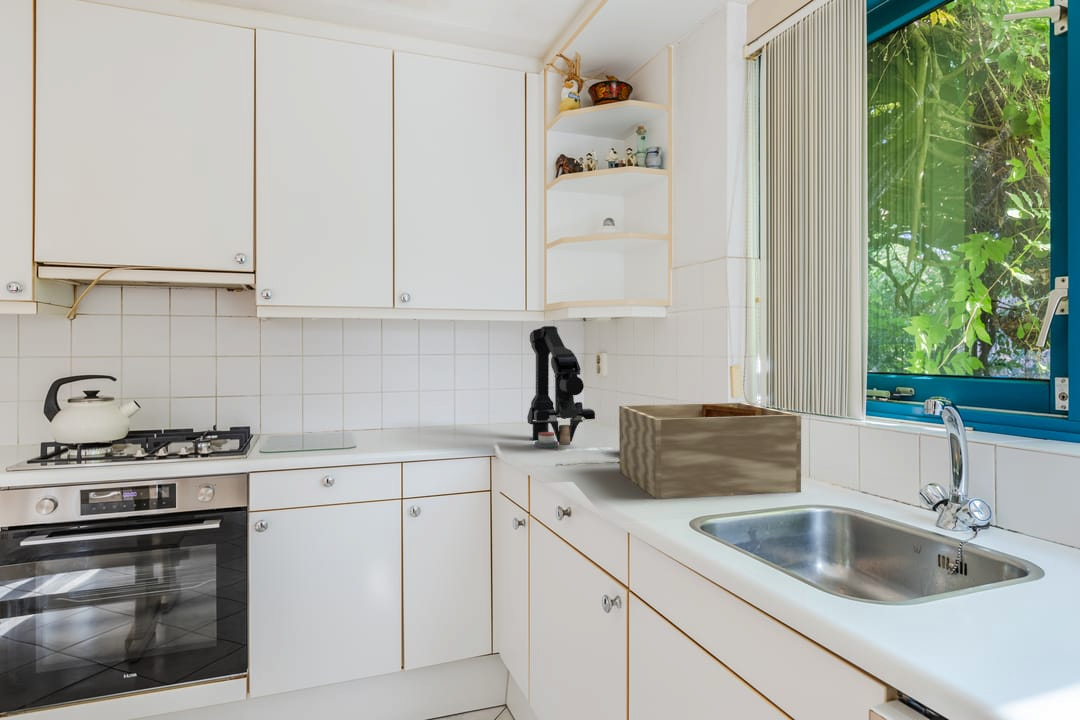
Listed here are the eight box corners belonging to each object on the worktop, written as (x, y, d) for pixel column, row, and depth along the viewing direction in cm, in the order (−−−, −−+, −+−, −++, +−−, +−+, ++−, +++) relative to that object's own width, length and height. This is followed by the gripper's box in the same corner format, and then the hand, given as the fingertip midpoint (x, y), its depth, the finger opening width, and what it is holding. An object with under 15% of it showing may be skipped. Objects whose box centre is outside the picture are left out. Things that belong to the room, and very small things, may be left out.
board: (532, 448, 203) (532, 440, 203) (602, 445, 207) (602, 438, 207) (539, 456, 189) (539, 448, 188) (614, 453, 192) (614, 445, 192)
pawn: (558, 443, 194) (557, 425, 194) (569, 443, 195) (568, 424, 194) (560, 445, 191) (559, 426, 190) (571, 445, 191) (571, 426, 191)
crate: (619, 471, 166) (619, 405, 166) (741, 466, 172) (741, 402, 171) (656, 499, 137) (655, 419, 137) (800, 491, 143) (801, 415, 142)
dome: (537, 441, 202) (537, 432, 202) (552, 440, 203) (552, 431, 203) (539, 443, 197) (539, 434, 197) (555, 443, 198) (555, 434, 198)
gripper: (538, 395, 183) (539, 447, 183) (599, 394, 185) (599, 445, 186) (533, 392, 194) (534, 441, 194) (590, 391, 197) (591, 439, 197)
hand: (564, 441), depth 193 cm, fingers closed on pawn, 4 cm apart
